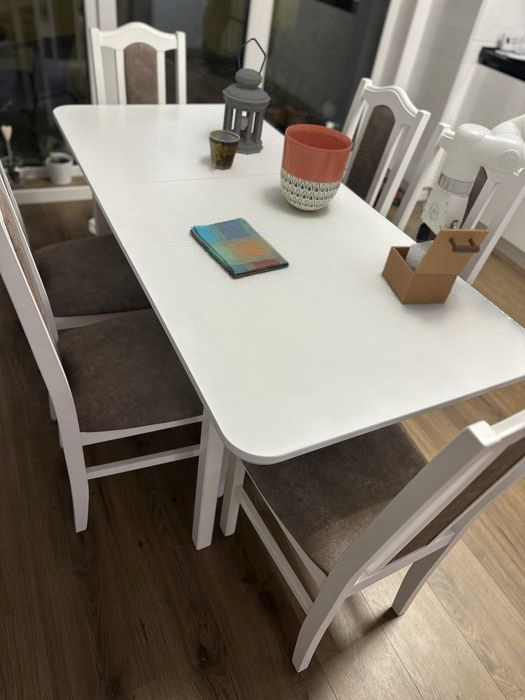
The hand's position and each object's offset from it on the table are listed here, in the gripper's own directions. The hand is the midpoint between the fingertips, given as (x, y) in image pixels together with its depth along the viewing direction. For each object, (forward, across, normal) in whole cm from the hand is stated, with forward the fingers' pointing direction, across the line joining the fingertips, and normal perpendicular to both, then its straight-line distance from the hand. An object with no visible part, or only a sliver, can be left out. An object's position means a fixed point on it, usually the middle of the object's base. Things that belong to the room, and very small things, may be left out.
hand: (430, 249), depth 132 cm
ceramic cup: (+11, -71, -39) cm, 81 cm away
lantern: (+11, -91, -28) cm, 96 cm away
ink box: (+11, 0, -1) cm, 11 cm away
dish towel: (+11, -19, -43) cm, 48 cm away
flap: (-4, +8, 0) cm, 9 cm away
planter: (+11, -45, -17) cm, 49 cm away
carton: (+12, 0, -1) cm, 12 cm away
